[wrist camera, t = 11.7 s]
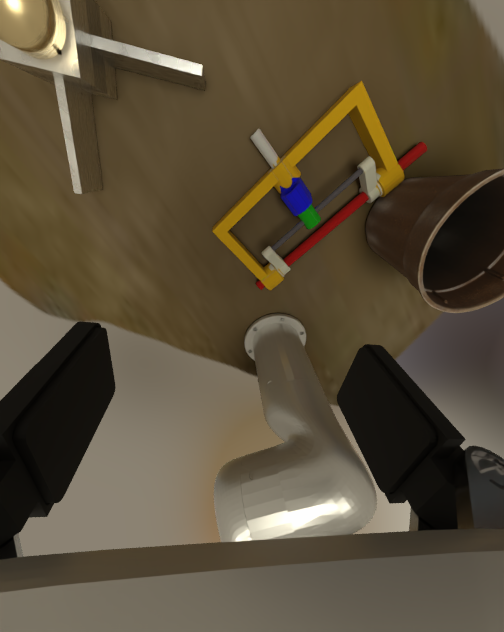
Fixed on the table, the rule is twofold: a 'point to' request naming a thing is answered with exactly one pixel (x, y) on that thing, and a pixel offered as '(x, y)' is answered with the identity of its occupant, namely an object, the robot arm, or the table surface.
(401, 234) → the plant pot
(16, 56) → the white corner connector
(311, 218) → the mechanical clamp
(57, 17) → the wooden bell shape
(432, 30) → the table surface
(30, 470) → the robot arm
